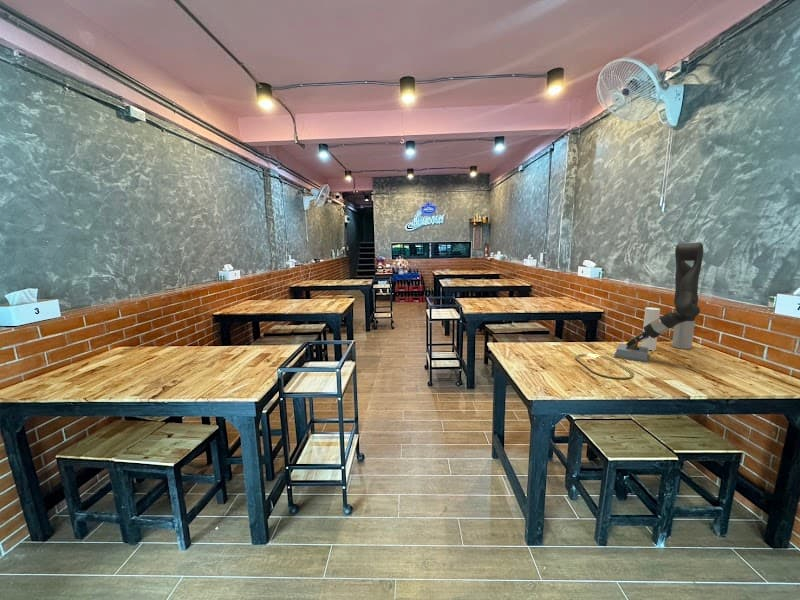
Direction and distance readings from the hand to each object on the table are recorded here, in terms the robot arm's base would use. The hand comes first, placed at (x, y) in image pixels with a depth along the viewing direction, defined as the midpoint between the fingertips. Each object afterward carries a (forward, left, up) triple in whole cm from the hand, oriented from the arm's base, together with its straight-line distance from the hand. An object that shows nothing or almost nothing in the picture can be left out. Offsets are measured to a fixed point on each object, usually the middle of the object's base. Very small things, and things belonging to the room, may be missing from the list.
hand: (630, 344), depth 190 cm
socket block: (0, +1, -7) cm, 7 cm away
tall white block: (-21, +8, -7) cm, 23 cm away
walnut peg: (0, +1, -6) cm, 6 cm away
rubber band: (+28, -10, -8) cm, 31 cm away
